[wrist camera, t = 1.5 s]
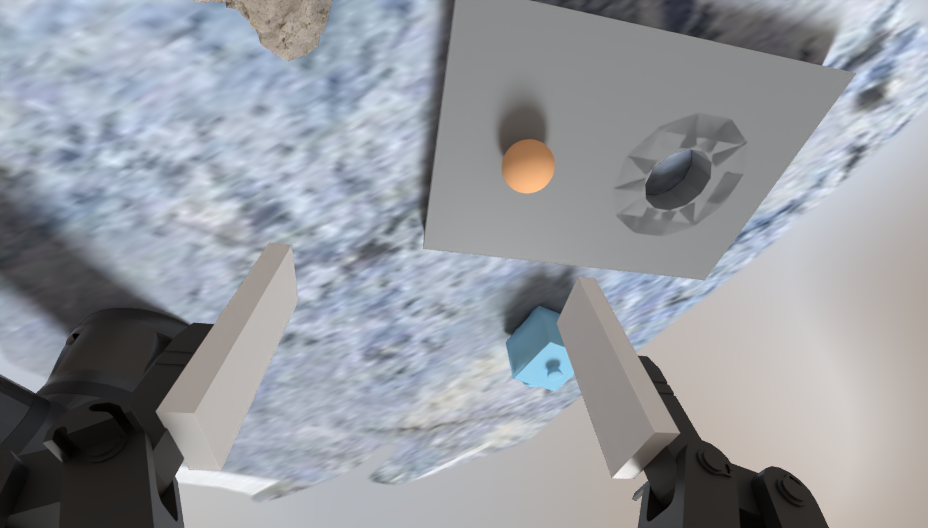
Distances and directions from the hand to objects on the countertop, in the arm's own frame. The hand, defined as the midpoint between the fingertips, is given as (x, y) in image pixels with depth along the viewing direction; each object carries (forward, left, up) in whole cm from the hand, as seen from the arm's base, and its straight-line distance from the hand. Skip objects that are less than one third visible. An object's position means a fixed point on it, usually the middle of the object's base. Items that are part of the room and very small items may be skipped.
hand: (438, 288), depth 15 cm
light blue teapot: (+16, -21, -20) cm, 33 cm away
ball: (+7, 0, -15) cm, 17 cm away
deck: (+15, 0, -20) cm, 25 cm away
